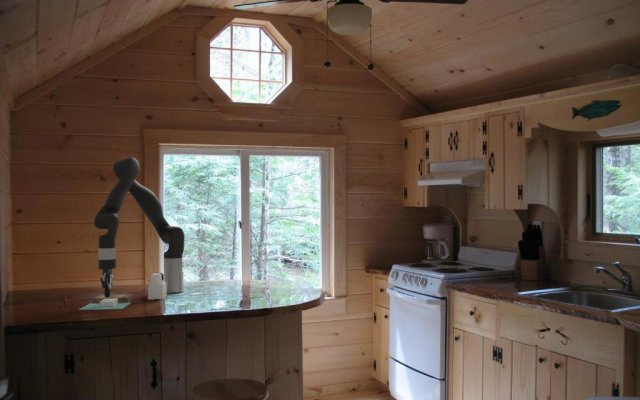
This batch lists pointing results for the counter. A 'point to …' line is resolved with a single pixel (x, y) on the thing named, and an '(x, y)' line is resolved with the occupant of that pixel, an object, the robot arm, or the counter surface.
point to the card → (109, 302)
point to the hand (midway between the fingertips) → (107, 297)
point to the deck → (121, 298)
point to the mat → (97, 306)
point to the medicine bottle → (157, 287)
